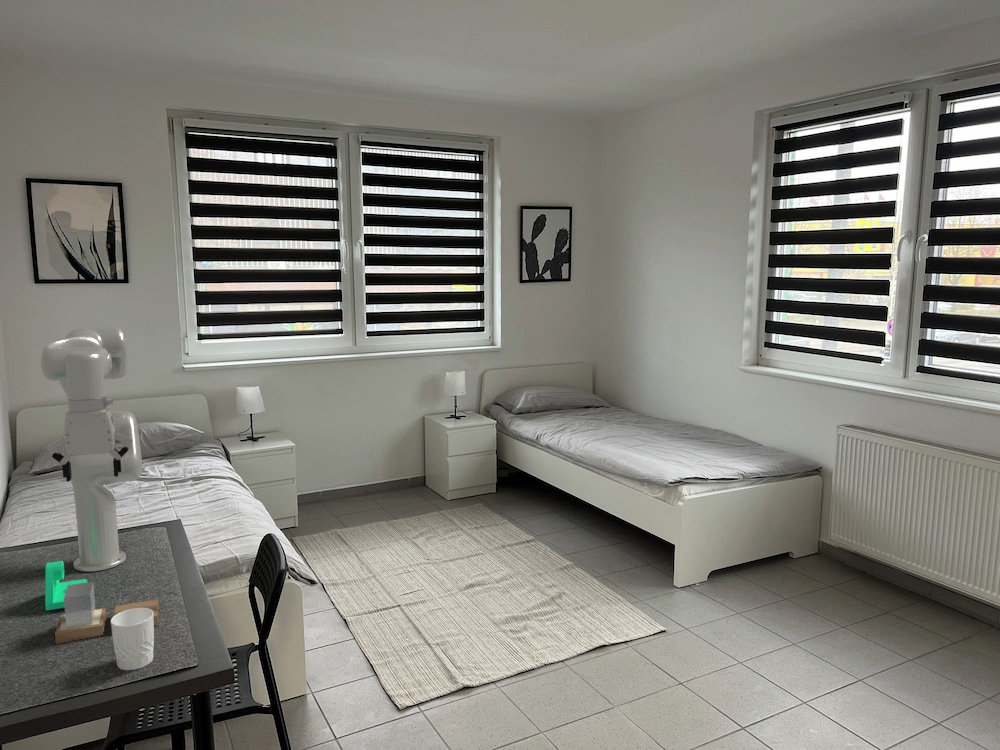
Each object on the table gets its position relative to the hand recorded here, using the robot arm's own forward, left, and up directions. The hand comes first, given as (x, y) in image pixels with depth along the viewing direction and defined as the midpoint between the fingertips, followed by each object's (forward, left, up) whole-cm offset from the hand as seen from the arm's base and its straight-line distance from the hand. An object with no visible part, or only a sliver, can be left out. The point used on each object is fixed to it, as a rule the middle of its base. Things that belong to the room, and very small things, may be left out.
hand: (93, 477), depth 168 cm
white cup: (+29, +8, -32) cm, 44 cm away
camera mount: (-8, -8, -33) cm, 35 cm away
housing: (+10, -3, -30) cm, 31 cm away
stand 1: (+10, -3, -32) cm, 34 cm away
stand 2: (+10, +8, -32) cm, 35 cm away
